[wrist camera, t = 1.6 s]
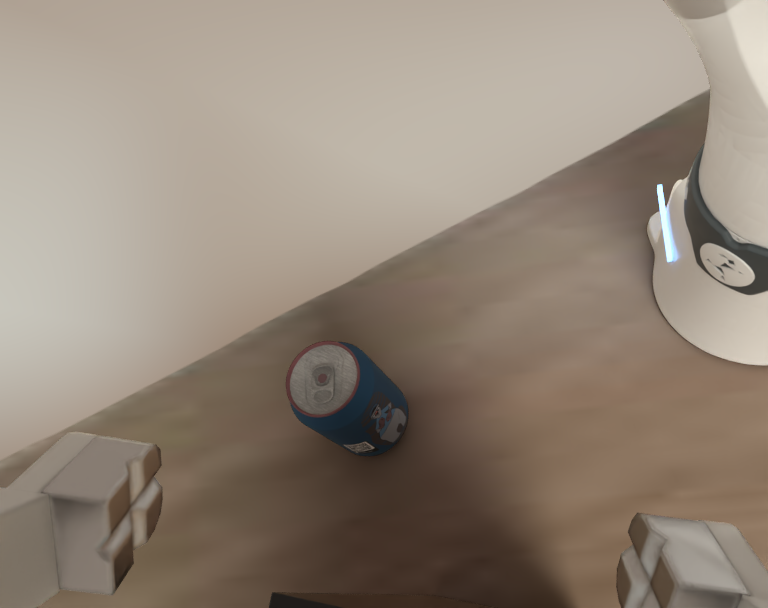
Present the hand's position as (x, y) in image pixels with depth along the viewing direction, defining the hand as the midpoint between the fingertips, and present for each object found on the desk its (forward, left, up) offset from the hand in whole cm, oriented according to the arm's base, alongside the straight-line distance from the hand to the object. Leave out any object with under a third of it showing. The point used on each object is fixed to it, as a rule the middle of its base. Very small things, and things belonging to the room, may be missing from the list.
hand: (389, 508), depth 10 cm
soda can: (+2, -19, -39) cm, 43 cm away
